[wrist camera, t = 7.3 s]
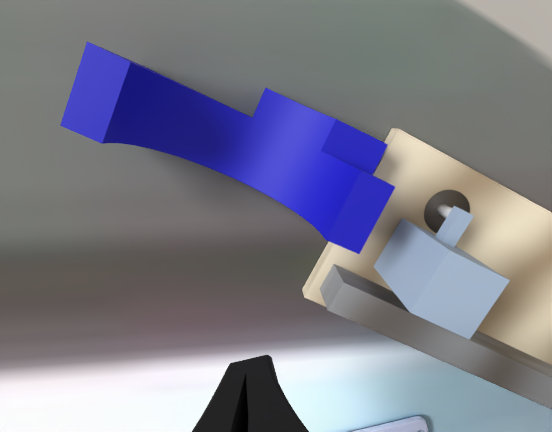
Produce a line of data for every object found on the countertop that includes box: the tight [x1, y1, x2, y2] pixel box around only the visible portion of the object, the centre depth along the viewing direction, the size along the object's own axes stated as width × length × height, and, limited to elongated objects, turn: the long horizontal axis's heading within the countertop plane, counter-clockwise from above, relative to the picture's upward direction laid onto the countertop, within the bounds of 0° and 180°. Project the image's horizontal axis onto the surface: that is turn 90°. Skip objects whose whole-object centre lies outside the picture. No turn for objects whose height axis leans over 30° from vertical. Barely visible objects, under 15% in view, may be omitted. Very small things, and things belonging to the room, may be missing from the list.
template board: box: [302, 128, 552, 409], centre depth 20 cm, size 22×10×6 cm, turn 63°
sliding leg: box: [373, 204, 510, 340], centre depth 18 cm, size 3×5×5 cm, turn 153°
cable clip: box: [60, 42, 395, 254], centre depth 17 cm, size 12×4×6 cm, turn 65°
